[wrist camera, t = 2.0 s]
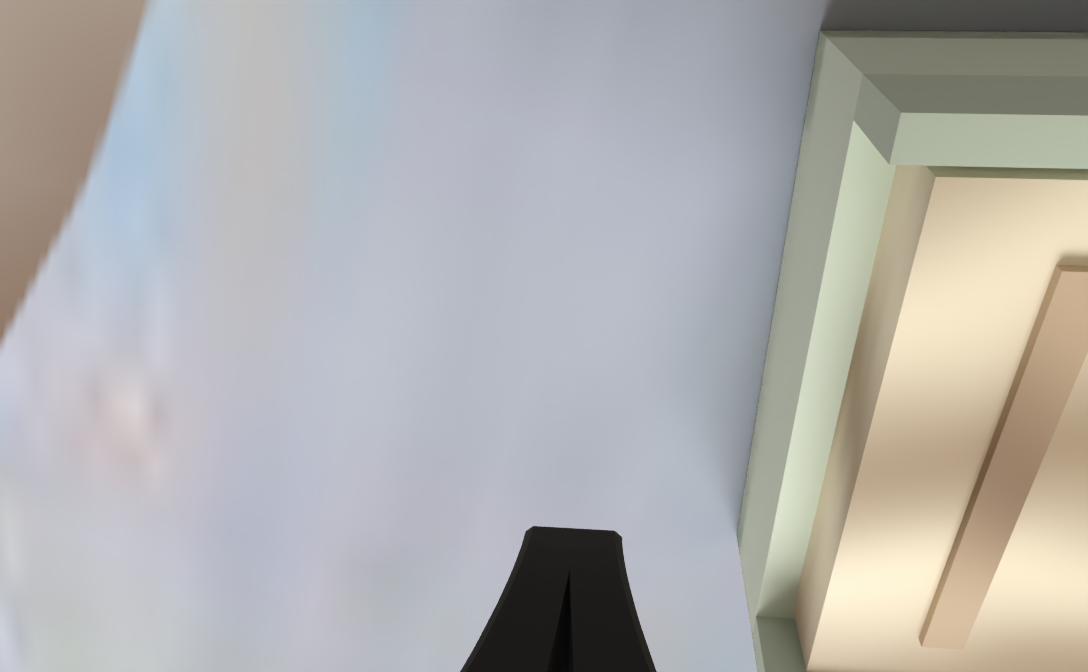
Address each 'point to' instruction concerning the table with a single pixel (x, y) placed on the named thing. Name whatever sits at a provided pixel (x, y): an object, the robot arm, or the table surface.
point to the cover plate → (961, 437)
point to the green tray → (875, 247)
